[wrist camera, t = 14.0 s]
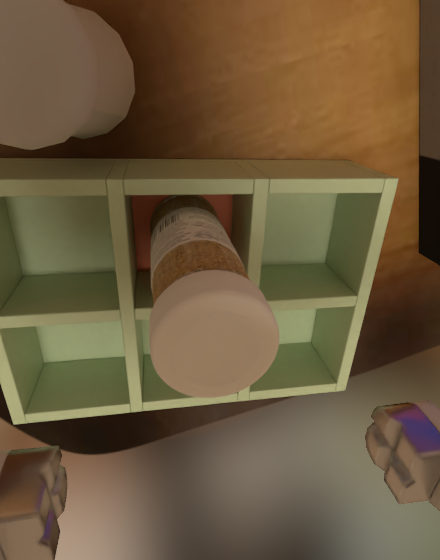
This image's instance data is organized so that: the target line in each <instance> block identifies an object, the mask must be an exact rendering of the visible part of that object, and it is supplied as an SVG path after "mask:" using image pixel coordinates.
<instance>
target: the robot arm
mask: <svg viewBox="0 0 440 560" xmlns="http://www.w3.org/2000/svg"><path fill="white" fill-rule="evenodd" d="M371 417H372V419H373V420H374V423H373V424H371V425H370V426H369V427H368V428H367V432H366V436H365V440H366V447H367V450H368V453H369V455H370V457H371V459H372V461H373V462H374V464H375V465H377V466H378V467H379V468H381V469H382V470H384V471H385V473H384V481H385V482H386V484H387V485H388V487H389V489H390V490H391V492H392V494H393V495H394V497H395V499H396V500H397V502H398V503H399V504H405V503H413V502H420V501H427V500H430V501H429V502H430V503H431V504H432V505H433V506H435V507H436V508H437V509H438V510H439V511H440V410H439V409H438V408H437V407H436V406H435V404H433V403H432V402H430V401H428V400H427V401H419V402H411V403H400V404H393V405H385V406H378V407H376V408H375V409H374V410H373V412H372V415H371ZM61 457H62V454H61V451H60V447H59V446H50V447H40V448H30V449H19V450H10V451H0V560H54V559H55V554H56V549H57V544H58V539H59V534H60V529H59V526H58V522H57V518H58V517H59V516H60V515H61V514H62V513H63V511H64V508H65V502H66V494H67V475H66V470H65V467H63V466H61V465H60V461H61Z"/></svg>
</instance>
